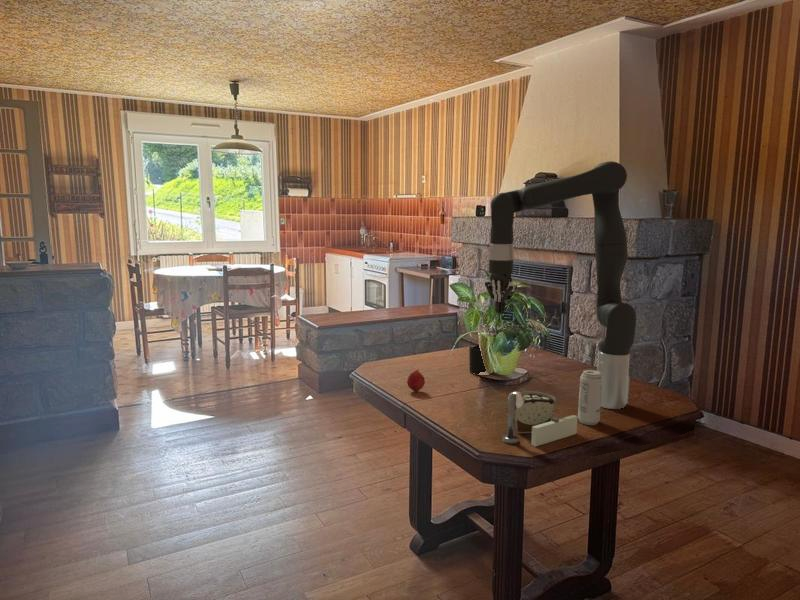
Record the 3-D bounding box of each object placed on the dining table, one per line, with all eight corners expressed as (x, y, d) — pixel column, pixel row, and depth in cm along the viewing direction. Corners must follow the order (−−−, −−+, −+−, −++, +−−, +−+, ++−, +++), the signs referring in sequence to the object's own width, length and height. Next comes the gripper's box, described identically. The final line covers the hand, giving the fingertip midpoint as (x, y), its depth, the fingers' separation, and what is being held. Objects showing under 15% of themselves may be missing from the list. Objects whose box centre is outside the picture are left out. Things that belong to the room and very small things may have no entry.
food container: (546, 423, 157) (548, 390, 156) (555, 432, 151) (556, 397, 150) (505, 424, 156) (506, 391, 155) (511, 433, 150) (513, 398, 149)
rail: (572, 432, 151) (573, 412, 151) (576, 433, 150) (577, 413, 149) (531, 444, 143) (532, 423, 142) (535, 446, 142) (536, 425, 141)
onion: (413, 396, 180) (413, 372, 179) (403, 391, 185) (404, 368, 183) (427, 393, 183) (428, 369, 182) (418, 388, 188) (418, 365, 187)
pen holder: (495, 376, 202) (496, 350, 201) (470, 376, 202) (471, 349, 201) (491, 369, 212) (492, 344, 210) (467, 369, 212) (467, 343, 210)
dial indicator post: (510, 436, 148) (512, 389, 146) (522, 442, 145) (524, 394, 142) (498, 439, 146) (500, 392, 144) (510, 445, 142) (512, 396, 140)
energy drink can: (601, 426, 156) (605, 375, 153) (579, 425, 156) (583, 374, 154) (596, 418, 162) (600, 369, 159) (575, 417, 162) (578, 368, 160)
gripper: (525, 259, 166) (523, 315, 169) (496, 256, 177) (494, 309, 180) (506, 260, 162) (505, 317, 165) (478, 257, 173) (477, 311, 176)
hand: (500, 313), depth 173 cm, fingers closed
